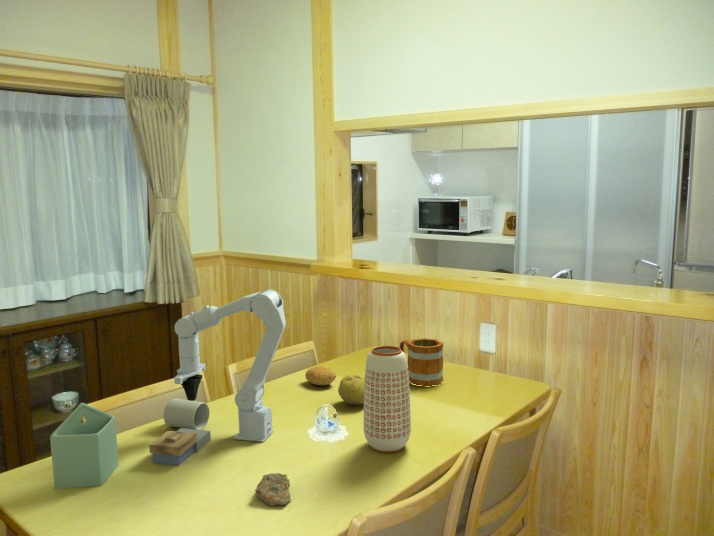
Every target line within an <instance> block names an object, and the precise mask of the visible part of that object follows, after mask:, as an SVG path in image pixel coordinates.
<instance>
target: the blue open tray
mask: <svg viewBox="0 0 714 536" xmlns="http://www.w3.org/2000/svg"><path fill="white" fill-rule="evenodd" d="M194 453H196V452H195V451H194V445H192V446H191V447H190V448H189V449H188V450H187V451H185V452H184V453H183V454H182V455H181V456H174V455H164V454H155V453H151V456H152V463H155V464H163V465H172V466H180V465H182V464H183V463H184V462H185V461H187V459H189V458H190V457H191V456H192V455H193V454H194Z"/></svg>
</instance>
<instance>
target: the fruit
mask: <svg viewBox="0 0 714 536" xmlns="http://www.w3.org/2000/svg"><path fill="white" fill-rule="evenodd" d="M364 385H365V376H363V375H361V374H357V373H356V374H352V375H351V374H348V375H346V376H344V377H342V379H341V380H340V382H339V386H338V388H337V392H338V395H339V397H340V399H342V400H343V401H344V402H345V403H346V404H349V405H361V404H364Z"/></svg>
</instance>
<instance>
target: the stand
mask: <svg viewBox="0 0 714 536" xmlns="http://www.w3.org/2000/svg"><path fill="white" fill-rule="evenodd" d="M176 432H185V433H196V434H197V442H196V443H195V444H194V451H195V452H194V453H199V451H201V450H202V449H203V448H204V447H205V446H206V445H208V443H210V442H211V438H212V437H211V430H204V429H202V430H195V429H186V428H179V429H178V430H177V431H176Z"/></svg>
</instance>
